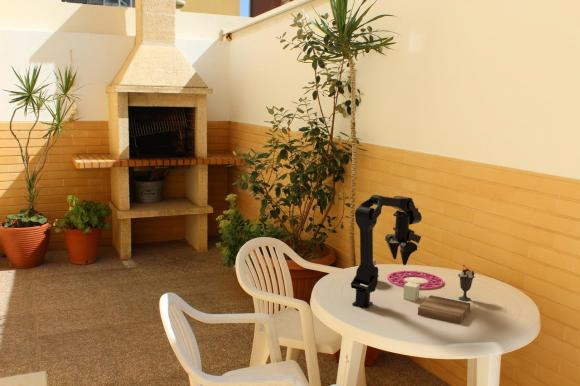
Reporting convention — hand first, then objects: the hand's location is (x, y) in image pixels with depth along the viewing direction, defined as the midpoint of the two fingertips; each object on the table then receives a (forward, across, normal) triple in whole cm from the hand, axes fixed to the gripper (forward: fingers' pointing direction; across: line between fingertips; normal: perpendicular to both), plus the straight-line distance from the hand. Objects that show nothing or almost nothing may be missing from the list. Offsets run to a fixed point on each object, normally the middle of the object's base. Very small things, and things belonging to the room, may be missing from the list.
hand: (399, 262), depth 241 cm
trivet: (+13, +12, -15) cm, 23 cm away
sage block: (+13, -9, -2) cm, 16 cm away
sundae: (+13, -14, -24) cm, 30 cm away
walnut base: (+13, -26, -7) cm, 30 cm away
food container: (+13, +16, +6) cm, 22 cm away
